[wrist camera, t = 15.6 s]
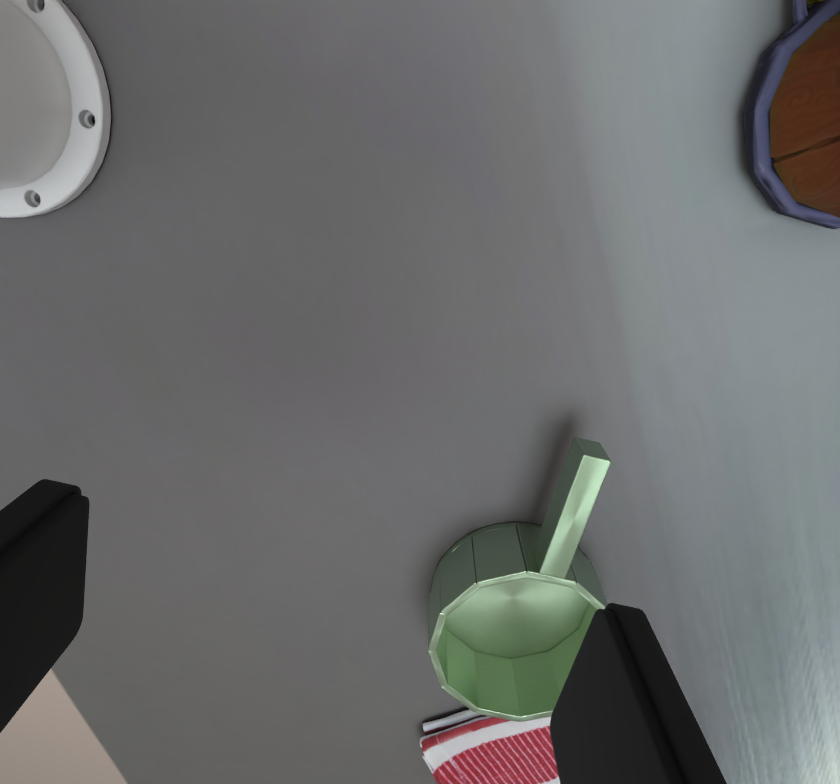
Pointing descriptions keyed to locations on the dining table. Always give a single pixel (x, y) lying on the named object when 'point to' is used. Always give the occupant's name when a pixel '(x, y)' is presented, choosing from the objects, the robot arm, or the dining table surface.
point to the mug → (799, 117)
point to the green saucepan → (519, 601)
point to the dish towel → (489, 750)
